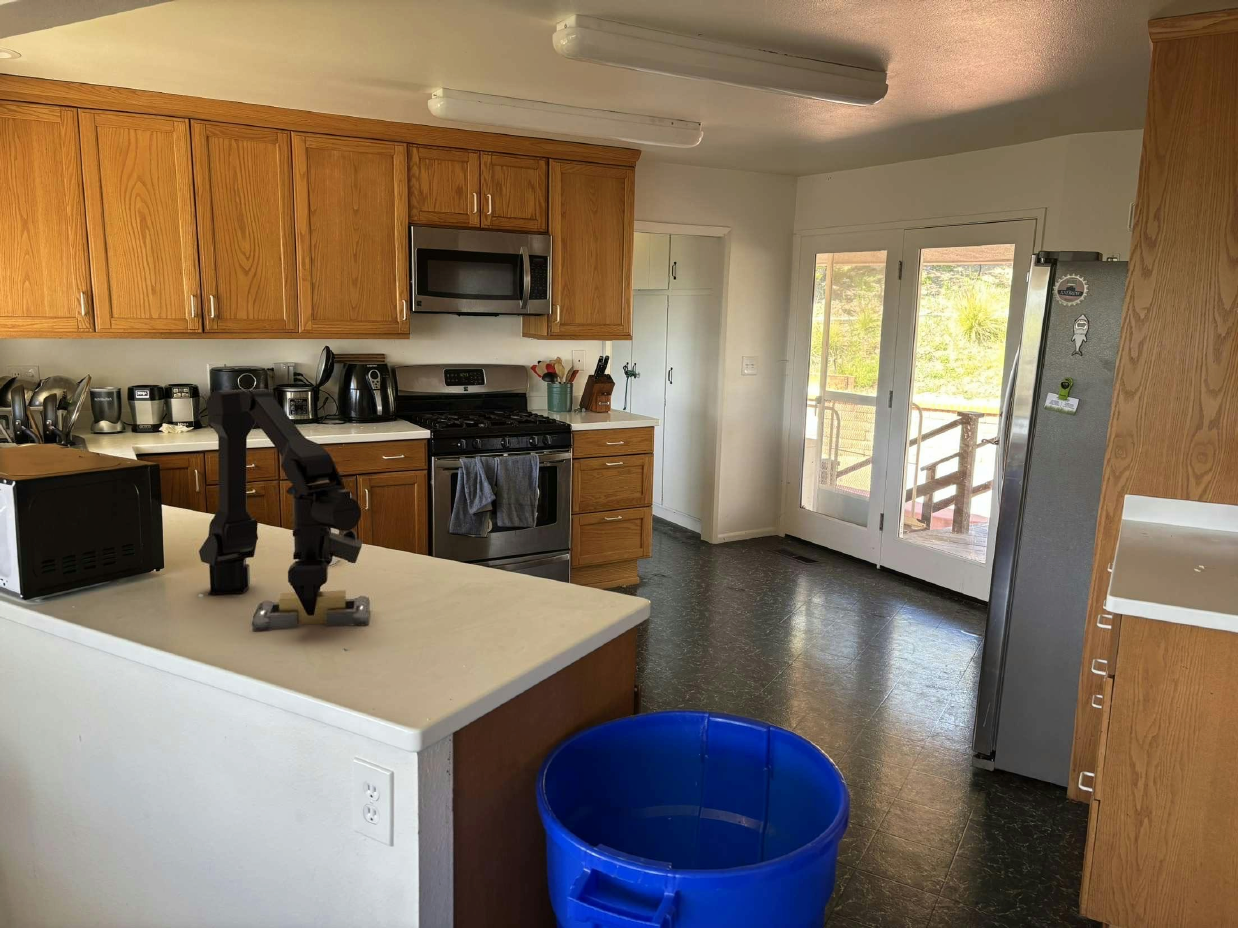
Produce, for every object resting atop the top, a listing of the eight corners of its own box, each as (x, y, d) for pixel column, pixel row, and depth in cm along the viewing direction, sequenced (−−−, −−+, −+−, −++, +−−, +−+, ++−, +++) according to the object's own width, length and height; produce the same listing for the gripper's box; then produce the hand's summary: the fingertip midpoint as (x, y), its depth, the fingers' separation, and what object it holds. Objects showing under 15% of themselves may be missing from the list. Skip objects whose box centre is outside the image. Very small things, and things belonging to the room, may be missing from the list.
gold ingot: (279, 626, 152) (278, 598, 152) (282, 619, 156) (281, 592, 155) (345, 622, 155) (344, 595, 154) (346, 616, 158) (345, 590, 158)
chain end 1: (252, 631, 149) (251, 615, 148) (259, 615, 157) (258, 600, 156) (296, 628, 151) (295, 613, 150) (301, 613, 159) (300, 598, 158)
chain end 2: (370, 609, 162) (369, 595, 161) (368, 624, 154) (368, 609, 153) (329, 611, 160) (329, 597, 159) (326, 627, 152) (326, 612, 151)
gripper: (356, 532, 146) (358, 621, 148) (360, 509, 163) (361, 589, 166) (286, 534, 143) (288, 625, 145) (298, 510, 161) (300, 591, 163)
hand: (313, 606), depth 155 cm, fingers open, 9 cm apart
